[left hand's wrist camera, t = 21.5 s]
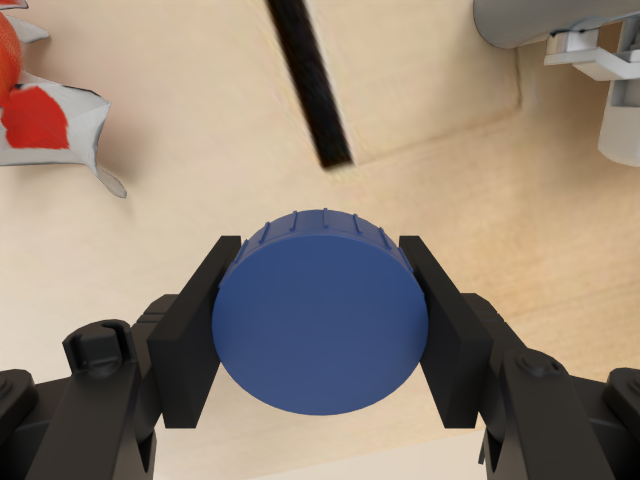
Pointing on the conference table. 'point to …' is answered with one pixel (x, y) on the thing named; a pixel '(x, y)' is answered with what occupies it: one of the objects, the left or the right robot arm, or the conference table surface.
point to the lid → (320, 314)
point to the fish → (45, 109)
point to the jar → (546, 18)
